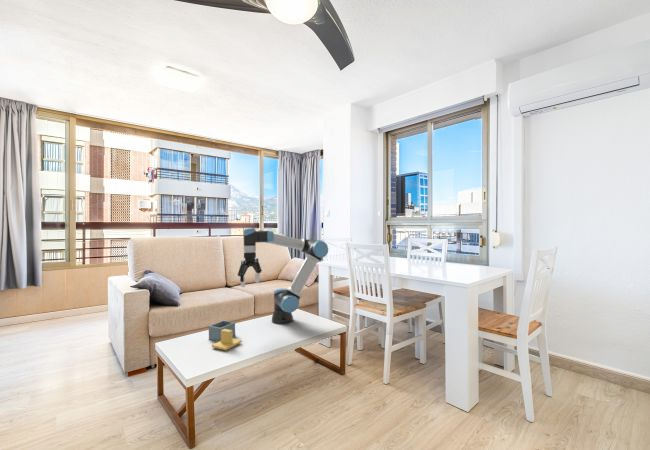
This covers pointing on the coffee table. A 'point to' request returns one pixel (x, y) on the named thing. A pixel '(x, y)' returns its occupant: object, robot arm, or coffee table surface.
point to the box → (217, 327)
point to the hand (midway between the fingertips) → (250, 284)
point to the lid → (226, 340)
